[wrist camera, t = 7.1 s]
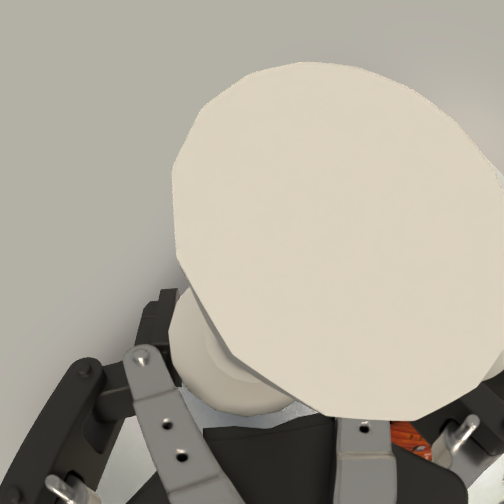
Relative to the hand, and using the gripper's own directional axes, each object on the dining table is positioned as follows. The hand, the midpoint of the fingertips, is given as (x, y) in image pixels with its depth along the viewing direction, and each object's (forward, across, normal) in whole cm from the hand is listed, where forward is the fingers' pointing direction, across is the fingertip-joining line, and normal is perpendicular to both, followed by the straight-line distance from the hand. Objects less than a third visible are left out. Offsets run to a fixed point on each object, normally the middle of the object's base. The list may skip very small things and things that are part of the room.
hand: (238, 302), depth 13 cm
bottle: (+8, 0, +11) cm, 14 cm away
